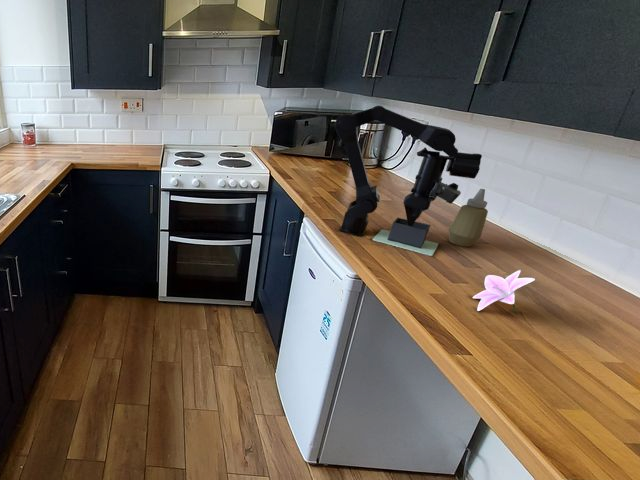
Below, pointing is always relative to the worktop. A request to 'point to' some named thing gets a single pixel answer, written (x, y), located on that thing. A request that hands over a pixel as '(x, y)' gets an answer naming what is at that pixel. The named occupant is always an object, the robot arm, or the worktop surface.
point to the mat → (426, 248)
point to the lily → (501, 289)
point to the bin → (408, 233)
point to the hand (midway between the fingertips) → (413, 222)
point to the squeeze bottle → (469, 221)
